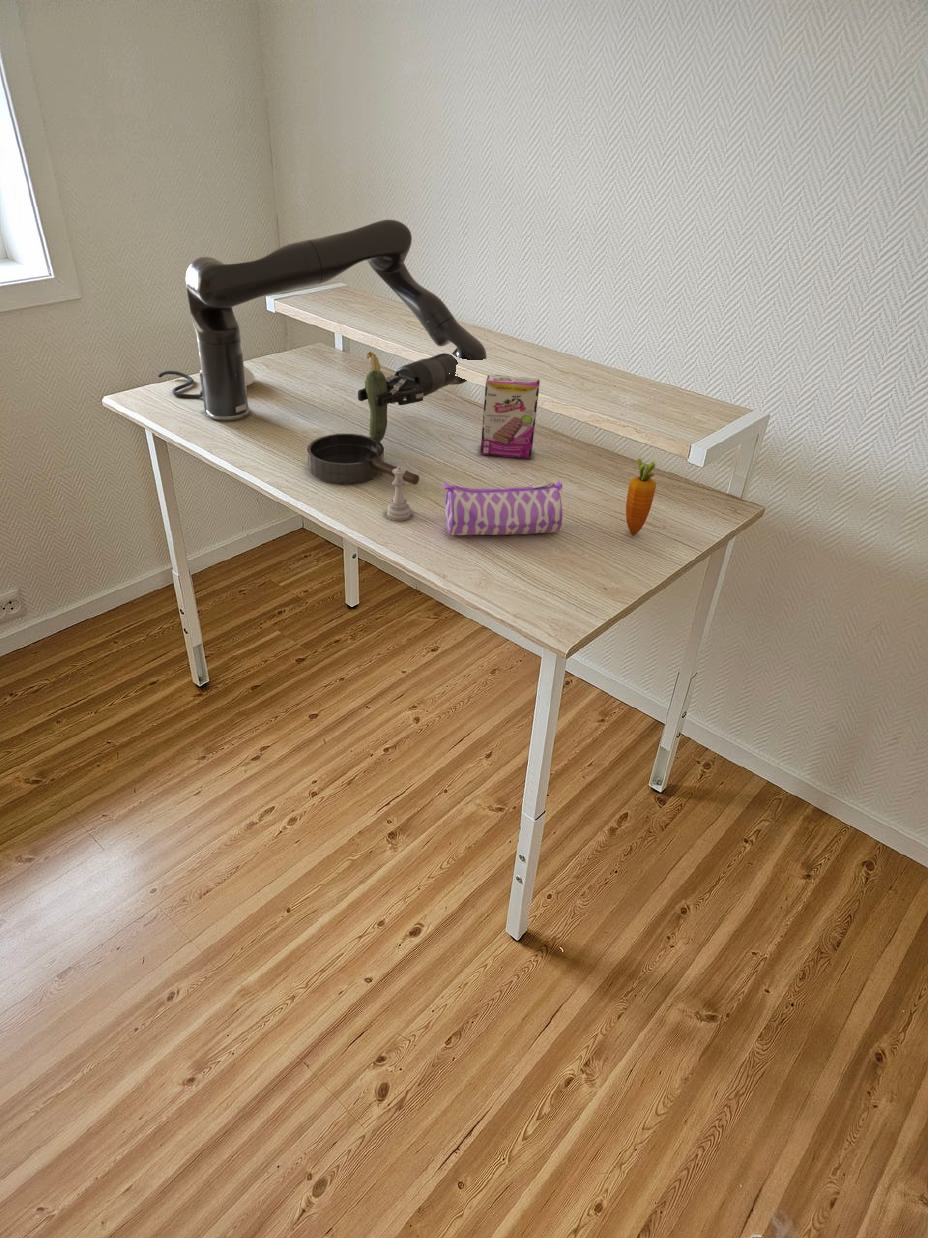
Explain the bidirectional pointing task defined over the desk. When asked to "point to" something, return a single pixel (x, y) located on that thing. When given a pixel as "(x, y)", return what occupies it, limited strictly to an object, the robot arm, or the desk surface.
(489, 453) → the candy bar box
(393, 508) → the chess piece
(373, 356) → the vegetable
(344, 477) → the pan
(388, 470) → the pan handle
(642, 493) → the carrot
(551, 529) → the pencil case
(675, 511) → the desk surface
